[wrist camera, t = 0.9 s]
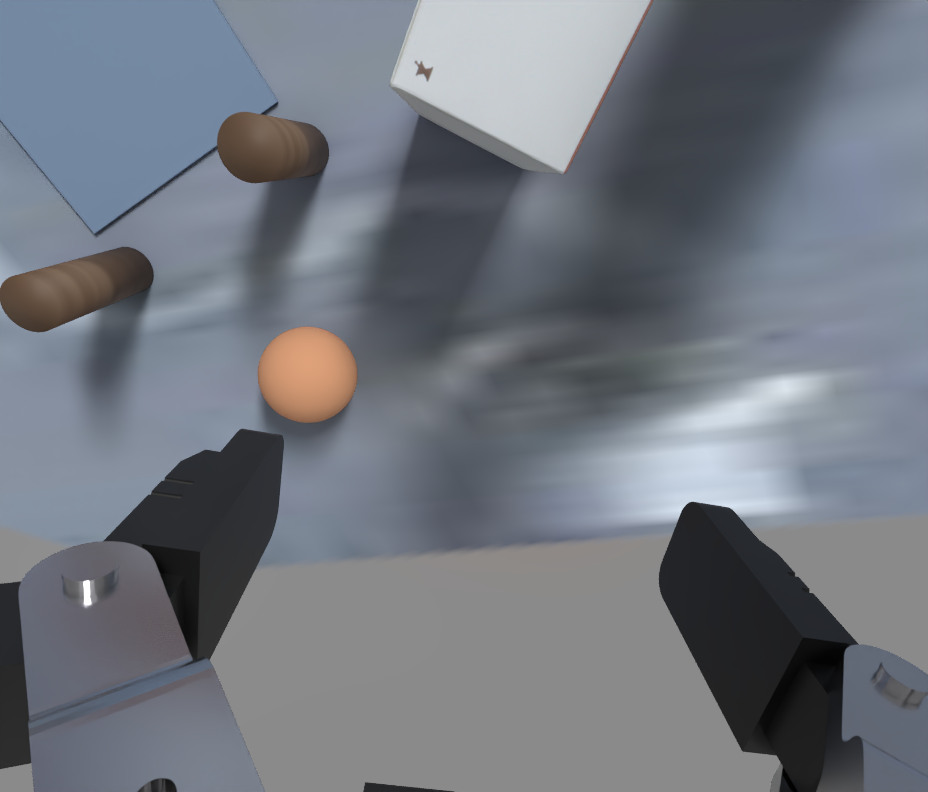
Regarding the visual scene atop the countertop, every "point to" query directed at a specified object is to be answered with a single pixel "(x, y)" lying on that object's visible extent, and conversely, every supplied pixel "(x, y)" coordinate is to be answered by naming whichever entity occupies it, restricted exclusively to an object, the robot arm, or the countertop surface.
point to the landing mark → (120, 93)
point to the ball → (307, 374)
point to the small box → (516, 71)
